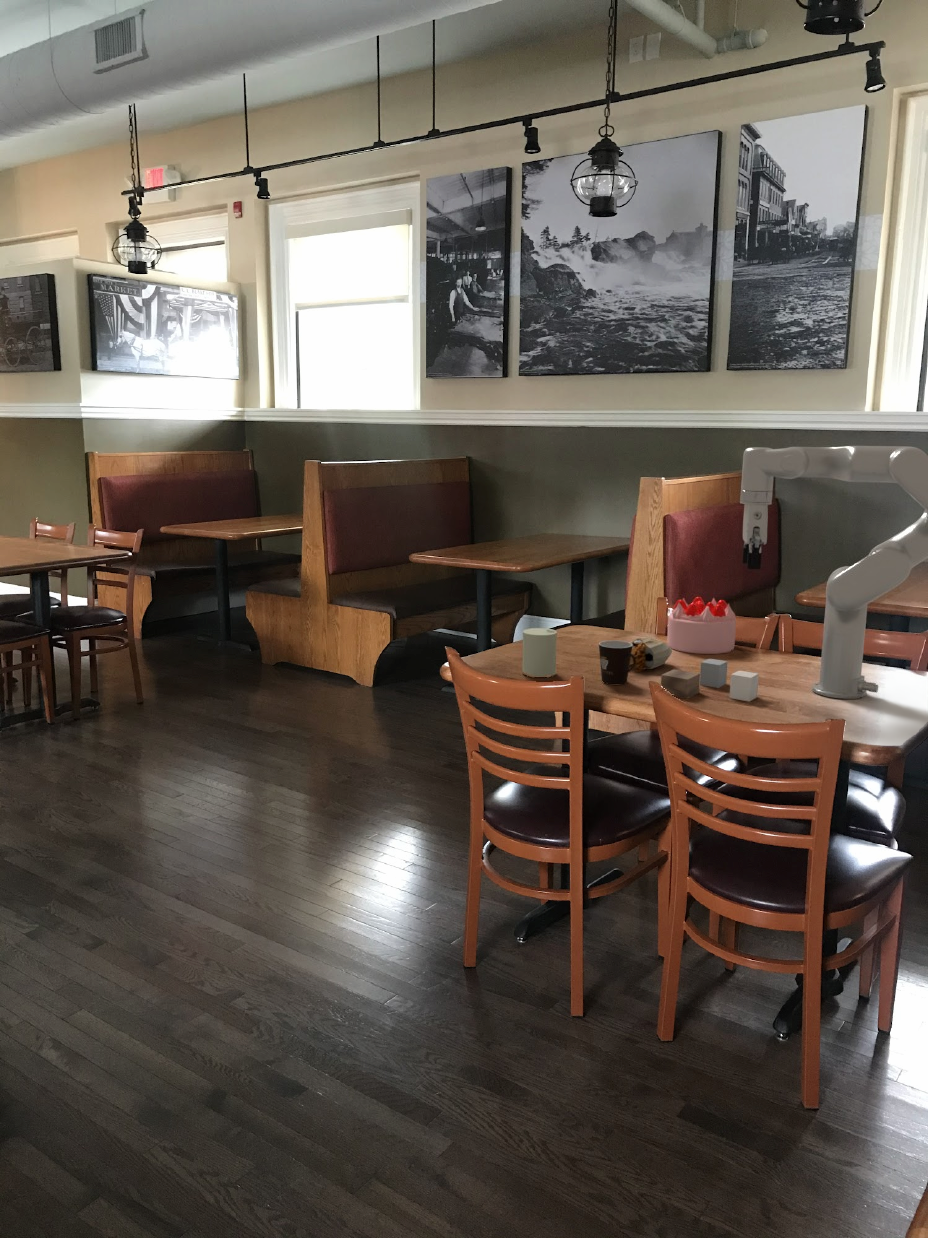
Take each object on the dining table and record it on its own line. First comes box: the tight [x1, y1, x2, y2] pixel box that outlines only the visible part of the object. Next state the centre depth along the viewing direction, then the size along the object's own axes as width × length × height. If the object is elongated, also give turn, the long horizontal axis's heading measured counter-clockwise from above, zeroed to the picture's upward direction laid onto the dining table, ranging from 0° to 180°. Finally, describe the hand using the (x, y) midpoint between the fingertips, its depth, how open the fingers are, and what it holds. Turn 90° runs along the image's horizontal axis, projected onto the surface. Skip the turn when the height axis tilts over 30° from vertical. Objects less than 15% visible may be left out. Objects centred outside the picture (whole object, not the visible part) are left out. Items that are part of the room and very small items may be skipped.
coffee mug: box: [598, 640, 636, 685], centre depth 249 cm, size 12×9×10 cm
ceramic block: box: [729, 670, 760, 702], centre depth 237 cm, size 5×5×6 cm
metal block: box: [660, 668, 700, 699], centre depth 241 cm, size 7×7×5 cm
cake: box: [666, 596, 737, 655], centre depth 290 cm, size 20×20×14 cm
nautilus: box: [628, 637, 673, 674], centre depth 265 cm, size 8×22×15 cm
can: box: [521, 627, 558, 676], centre depth 258 cm, size 9×9×12 cm
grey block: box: [699, 658, 729, 689], centre depth 249 cm, size 5×5×6 cm
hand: (751, 566), depth 244 cm, fingers open, 9 cm apart
